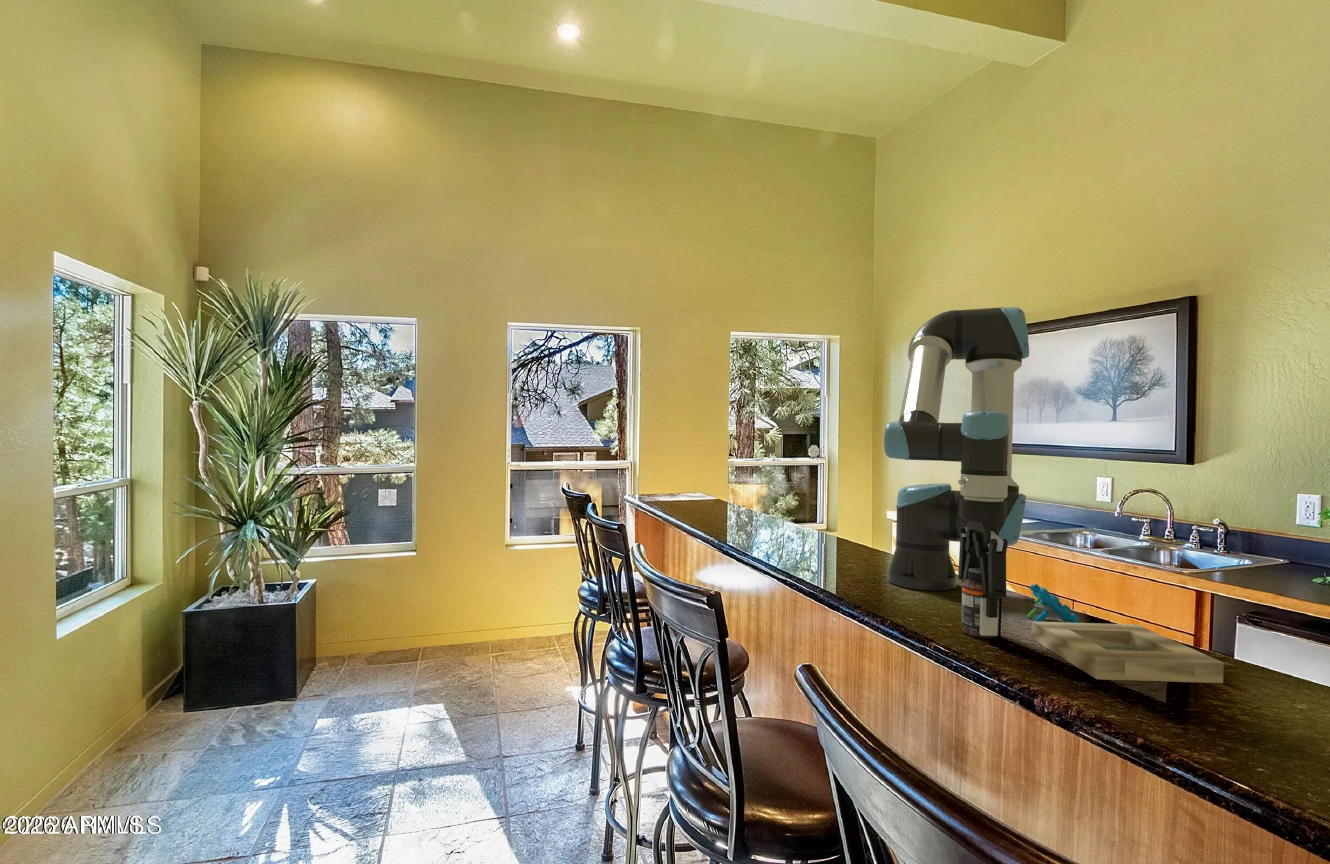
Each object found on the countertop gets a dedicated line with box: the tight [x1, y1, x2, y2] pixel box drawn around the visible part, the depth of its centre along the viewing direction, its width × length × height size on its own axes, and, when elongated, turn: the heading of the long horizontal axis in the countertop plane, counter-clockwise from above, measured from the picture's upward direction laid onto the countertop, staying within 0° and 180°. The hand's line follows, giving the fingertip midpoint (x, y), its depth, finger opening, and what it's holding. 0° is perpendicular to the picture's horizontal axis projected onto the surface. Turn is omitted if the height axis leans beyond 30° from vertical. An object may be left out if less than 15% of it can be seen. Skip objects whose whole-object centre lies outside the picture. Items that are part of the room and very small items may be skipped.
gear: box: [1026, 583, 1082, 623], centre depth 122 cm, size 11×6×10 cm
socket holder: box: [1031, 621, 1225, 684], centre depth 104 cm, size 18×18×3 cm
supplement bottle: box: [961, 568, 1000, 639], centre depth 115 cm, size 6×6×11 cm
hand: (979, 628), depth 115 cm, fingers closed on supplement bottle, 6 cm apart
